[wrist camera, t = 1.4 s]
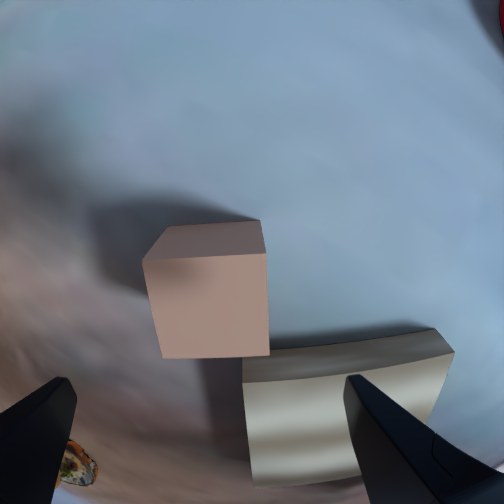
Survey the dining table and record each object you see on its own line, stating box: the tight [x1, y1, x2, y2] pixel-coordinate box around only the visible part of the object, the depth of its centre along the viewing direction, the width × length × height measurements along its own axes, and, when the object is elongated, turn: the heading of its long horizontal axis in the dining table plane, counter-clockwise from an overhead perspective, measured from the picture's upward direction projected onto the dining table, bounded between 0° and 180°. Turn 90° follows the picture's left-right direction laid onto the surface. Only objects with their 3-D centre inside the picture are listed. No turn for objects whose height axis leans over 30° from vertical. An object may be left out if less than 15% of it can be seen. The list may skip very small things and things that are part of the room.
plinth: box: [242, 329, 455, 489], centre depth 21 cm, size 14×14×3 cm
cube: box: [142, 220, 270, 358], centre depth 16 cm, size 5×5×5 cm
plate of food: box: [55, 441, 98, 489], centre depth 22 cm, size 12×12×8 cm
